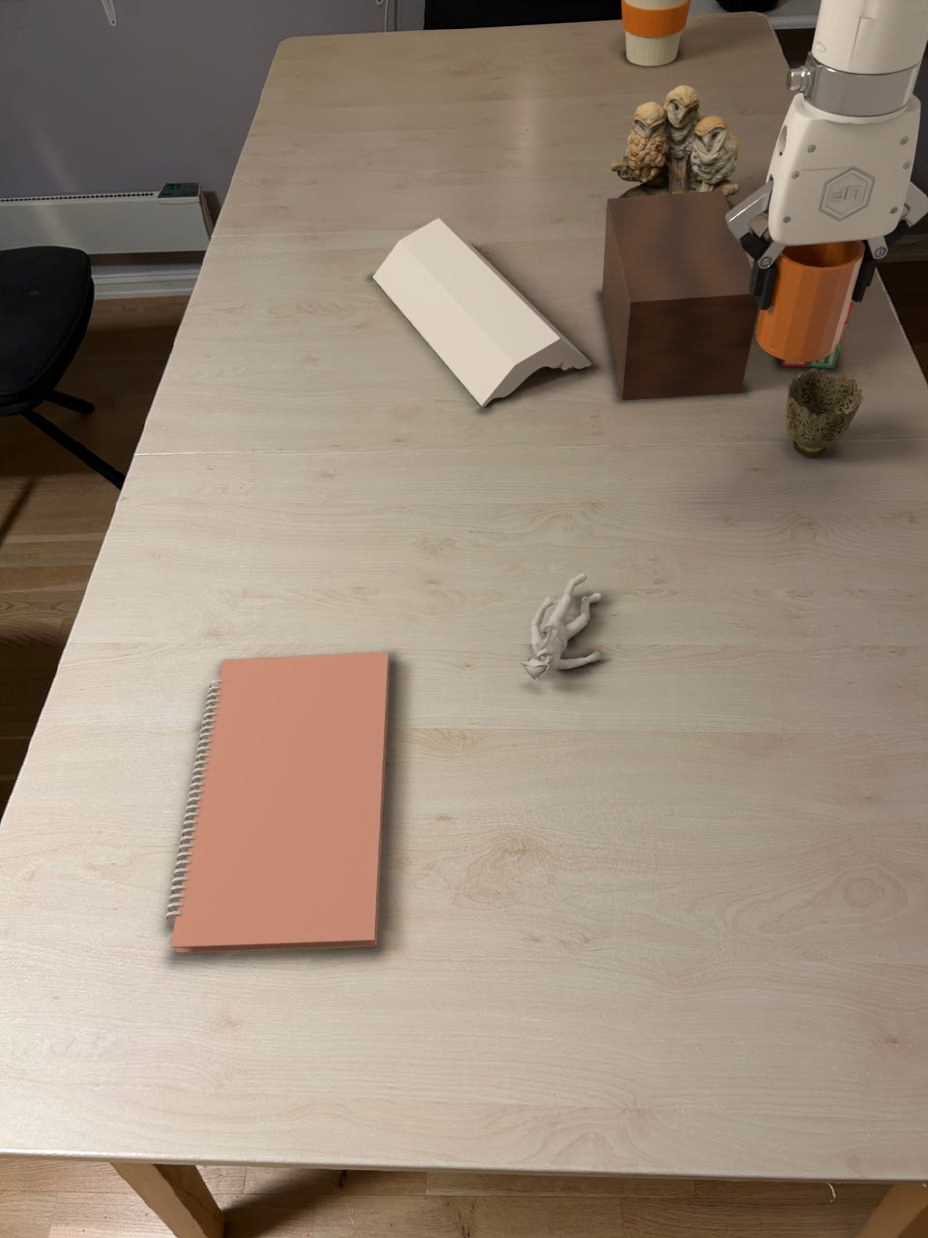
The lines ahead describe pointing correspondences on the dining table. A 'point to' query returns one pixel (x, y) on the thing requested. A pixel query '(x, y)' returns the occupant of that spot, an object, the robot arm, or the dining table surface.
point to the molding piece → (471, 313)
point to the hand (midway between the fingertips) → (806, 295)
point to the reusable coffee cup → (653, 29)
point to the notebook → (287, 807)
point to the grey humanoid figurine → (558, 632)
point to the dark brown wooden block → (676, 296)
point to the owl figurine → (678, 149)
